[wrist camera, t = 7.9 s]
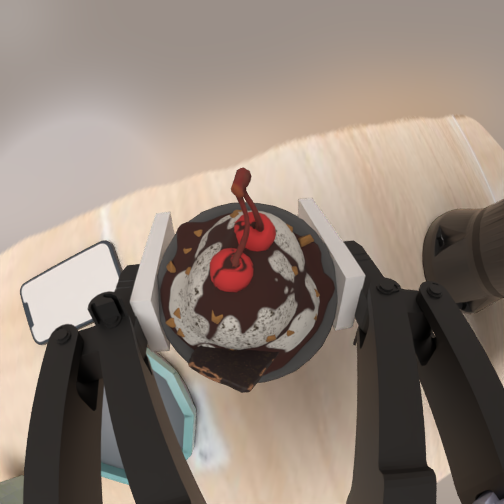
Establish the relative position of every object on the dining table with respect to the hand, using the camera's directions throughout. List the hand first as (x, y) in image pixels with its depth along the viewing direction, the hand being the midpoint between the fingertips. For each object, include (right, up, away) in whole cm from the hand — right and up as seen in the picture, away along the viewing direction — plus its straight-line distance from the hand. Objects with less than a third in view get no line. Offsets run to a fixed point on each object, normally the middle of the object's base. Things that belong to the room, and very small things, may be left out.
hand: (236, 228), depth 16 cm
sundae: (0, -5, +5) cm, 7 cm away
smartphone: (-22, -7, +17) cm, 29 cm away
